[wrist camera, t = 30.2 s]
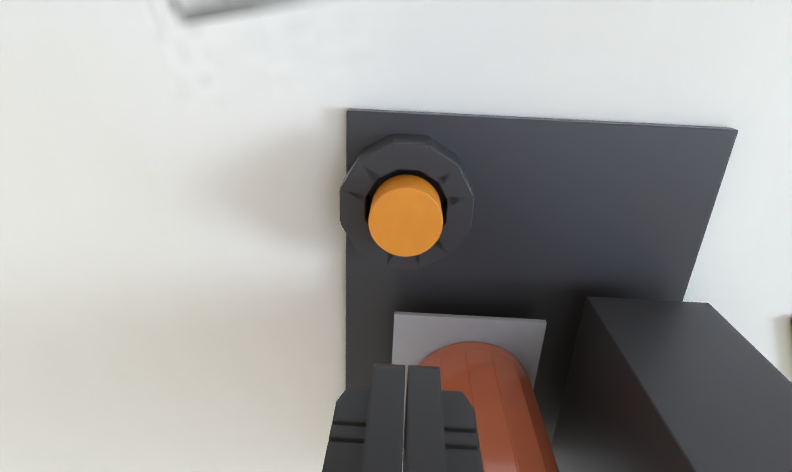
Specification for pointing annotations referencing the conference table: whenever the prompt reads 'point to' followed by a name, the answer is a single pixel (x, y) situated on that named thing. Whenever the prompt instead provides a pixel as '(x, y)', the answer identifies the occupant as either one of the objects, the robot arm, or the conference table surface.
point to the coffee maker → (640, 386)
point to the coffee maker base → (525, 224)
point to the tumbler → (497, 405)
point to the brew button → (405, 216)
